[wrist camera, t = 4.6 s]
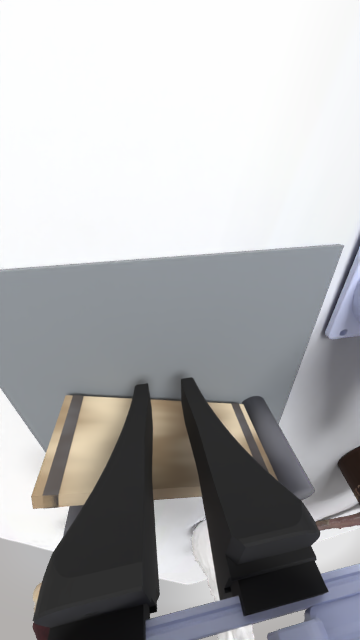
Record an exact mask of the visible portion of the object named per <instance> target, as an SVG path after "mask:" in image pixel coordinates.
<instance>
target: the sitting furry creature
mask: <svg viewBox="0 0 360 640" xmlns="http://www.w3.org/2000/svg"><path fill="white" fill-rule="evenodd" d="M191 542H192V548H193V550H192V552H193V555H194V557H195V561H197V562H198V563H199V566H200V567H201V568H202V570H203V572H204V573H205V575H206V576H207V580H208V586H209V587H210V589H211V590H210V592H211V595H212V596H214V599H215V602H216V601H220V599H219V593H218V588H217V583H216V576H215V570H214V564H213V558H212V552H211V545H210V539H209V534H208V528H207V522H206V519H205V520H203V521H202V522H200V523H199V524H198V525H197V527H196V529H195V530H194V531H193V536H192V538H191ZM252 629H253V627H252V625H248V626H245V627H241V628H237V629H234V630H230V631H227V632H223V633H220V634H217V638H218V640H255V636H254V634H253V633H252Z"/></svg>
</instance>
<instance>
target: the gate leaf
mask: <svg viewBox="0 0 360 640" xmlns="http://www.w3.org/2000/svg"><path fill="white" fill-rule="evenodd" d="M131 402H132V399H131V398H111V397H91V396H82V395H73V396H71V395H66V396H65V399H64V402H63V404H62V407H61V410H60V413H59V416H58V419H57V422H56V425H55V428H54V431H53V434H52V437H51V440H50V443H49V446H48V449H47V452H46V455H45V458H44V460H43V463H42V466H41V469H40V472H39V475H38V478H37V481H36V484H35V487H34V490H33V493H32V496H31V498H32V505H33V509H37V508H57V507H64V506H78V505H84V504H85V502H86V500H87V499H88V497H89V495H90V494H91V492H92V490H93V489H94V487H95V485H96V483H97V481H98V480H99V478H100V476H101V474H102V472H103V470H104V468H105V466H106V464H107V462H108V460H109V458H110V456H111V454H112V452H113V450H114V448H115V445H116V443H117V441H118V438H119V436H120V433H121V431H122V428H123V426H124V423H125V420H126V417H127V415H128V412H129V409H130V405H131ZM207 403H208V404H209V406H210V407H211V408H212V410H213V411H214V413H215V414H216V415H217V417H218V418H219V419H220V421H221V422H222V423H223V425H224V426H225V427H226V428H227V430H228V431H229V432H230V433H231V434H232V436H233V437H234V438H235V439H236V440H237V441H238V442H239V443H240V444H241V446H242V447H243V448H244V449H245V450H246V451H247V452H248V453H249V454H250V455H251V456H252V457H253V458H254V459H255V460H256V461H257V462H258V463H259V464H260V465H261V466H262V467H263V468H264V469H265V470H267V471H268V472H269V473H270V474H271V475H272V476H273V477H274V478H275V479H276V480H278V479H277V477H276V475H275V473H274V470H273V468H272V466H271V464H270V462H269V459H268V457H267V455H266V453H265V451H264V449H263V446H262V444H261V442H260V440H259V438H258V435H257V433H256V431H255V429H254V427H253V424H252V422H251V420H250V418H249V416H248V414H247V411H246V409H245V407H244V405H243V404H239V403H231V404H230V403H210V402H207ZM151 406H152V419H153V456H152V485H153V500H160V499H173V498H187V497H201V496H202V493H201V488H200V482H199V477H198V471H197V467H196V463H195V459H194V455H193V452H192V448H191V444H190V440H189V437H188V433H187V429H186V425H185V421H184V415H183V409H182V403H181V401H170V400H151Z"/></svg>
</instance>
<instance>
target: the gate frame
mask: <svg viewBox="0 0 360 640" xmlns="http://www.w3.org/2000/svg"><path fill="white" fill-rule="evenodd" d="M343 247H344V246H343V245H340V244H336V245H323V246H309V247H296V248H283V249H269V250H256V251H243V252H229V253H216V254H203V255H190V256H176V257H163V258H150V259H136V260H123V261H110V262H96V263H83V264H70V265H56V266H43V267H30V268H16V269H3V270H0V388H1V389H2V391H3V392H4V394H5V395H6V397H7V398H8V399H9V401H10V402H11V404H12V405H13V407H14V408H15V409H16V411H17V412H18V414H19V415H20V416H21V418H22V419H23V421H24V422H25V424H26V425H27V426H28V428H29V429H30V431H31V432H32V434H33V435H34V436H35V438H36V439H37V441H38V442H39V444H40V445H41V446H42V448H43V449H44V451H45V452H47V449H48V446H49V443H50V440H51V437H52V434H53V431H54V428H55V425H56V422H57V419H58V416H59V413H60V410H61V407H62V404H63V402H64V399H65V396H66V395H71V396H73V395H82V396H91V397H111V398H131V399H132V398H133V394H134V388H135V386H136V385H139V384H146V383H148V386H149V393H150V399H151V400H170V401H181V379H183V378H190V377H192V378H194V380H195V382H196V384H197V386H198V388H199V390H200V391H201V393H202V395H203V396H204V398H205V400H206V401H207V402H210V403H230V404H231V403H239V404H243V405H244V407H245V409H246V411H247V414H248V416H249V418H250V420H251V422H252V424H253V427H254V429H255V431H256V433H257V435H258V438H259V440H260V442H261V444H262V446H263V449H264V451H265V453H266V455H267V457H268V459H269V462H270V464H271V466H272V468H273V470H274V473H275V475H276V477H277V479H278V481H279V482H280V483H281V484H282V485H283V486H285V487H286V488H287V489H288V490H289V491H291V492H292V493H293V494H294V495H295V496H297V497H298V498H299V499H300V500H303V499H305V498H307V497H309V496H310V495H312V494H313V493H314V491H315V489H314V487H313V486H312V484H311V482H310V480H309V478H308V477H307V475H306V473H305V471H304V470H303V468H302V466H301V464H300V462H299V461H298V459H297V457H296V455H295V454H294V452H293V450H292V448H291V446H290V445H289V443H288V441H287V439H286V438H285V436H284V434H283V432H282V430H281V429H280V427H279V425H278V424H279V421H280V419H281V416H282V413H283V410H284V408H285V405H286V402H287V400H288V397H289V394H290V391H291V389H292V386H293V383H294V381H295V378H296V375H297V372H298V370H299V367H300V364H301V361H302V359H303V356H304V353H305V351H306V348H307V345H308V342H309V340H310V337H311V334H312V332H313V329H314V326H315V323H316V321H317V318H318V315H319V312H320V310H321V307H322V304H323V302H324V299H325V296H326V293H327V291H328V288H329V285H330V283H331V280H332V277H333V274H334V272H335V269H336V266H337V263H338V261H339V258H340V255H341V253H342V250H343ZM82 507H83V505H78V506H70V507H69V512H68V517H67V521H66V526H65V531H64V535H65V534H66V532H67V531H68V529H69V528H70V526H71V525H72V523H73V522H74V520H75V519H76V517H77V515H78V514H79V512H80V510H81V509H82ZM64 535H63V537H64Z"/></svg>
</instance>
